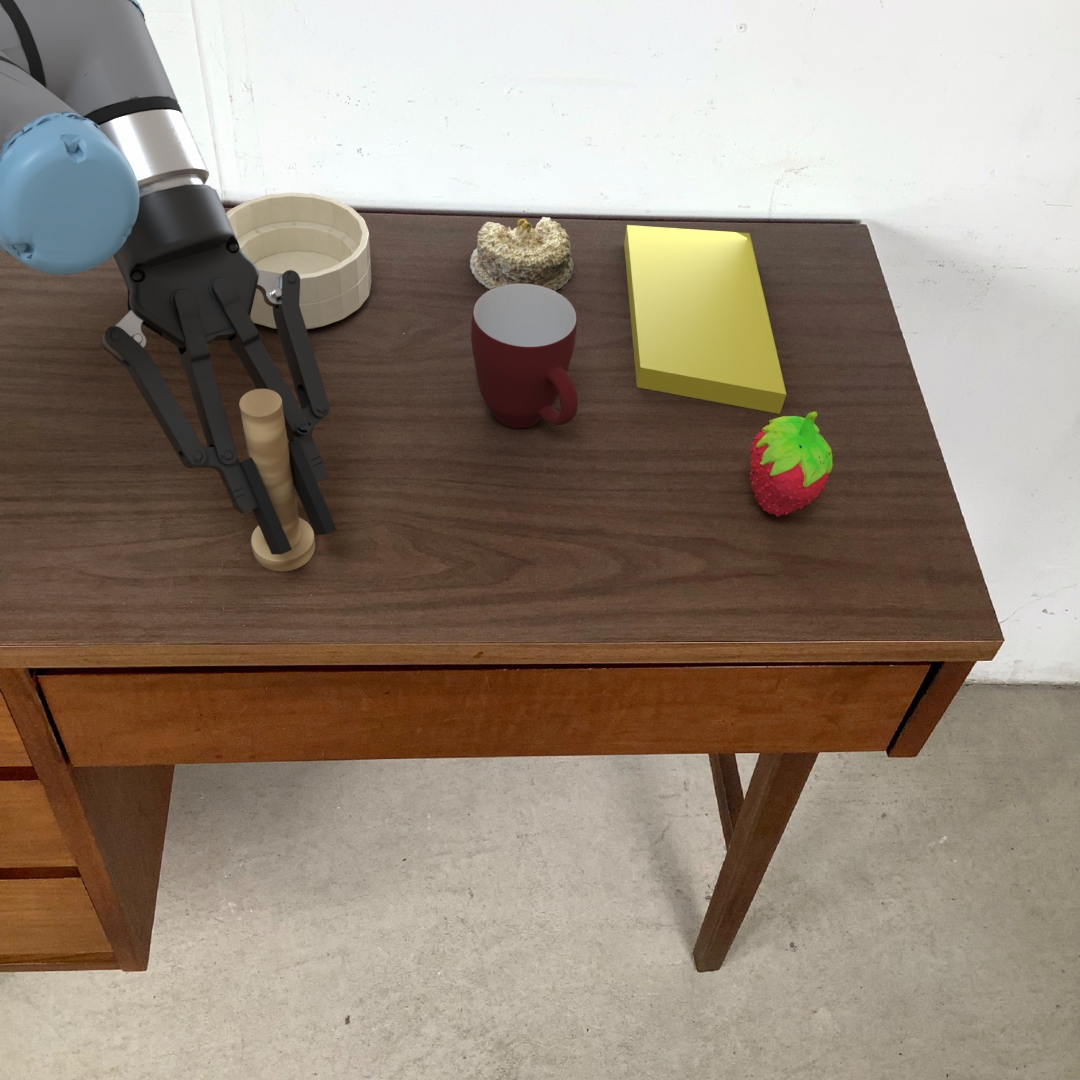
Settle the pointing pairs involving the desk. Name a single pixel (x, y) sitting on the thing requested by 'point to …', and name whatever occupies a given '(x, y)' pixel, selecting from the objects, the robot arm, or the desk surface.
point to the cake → (522, 255)
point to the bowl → (307, 252)
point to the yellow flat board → (701, 317)
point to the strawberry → (789, 464)
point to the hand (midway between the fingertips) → (303, 541)
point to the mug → (525, 353)
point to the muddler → (275, 478)
